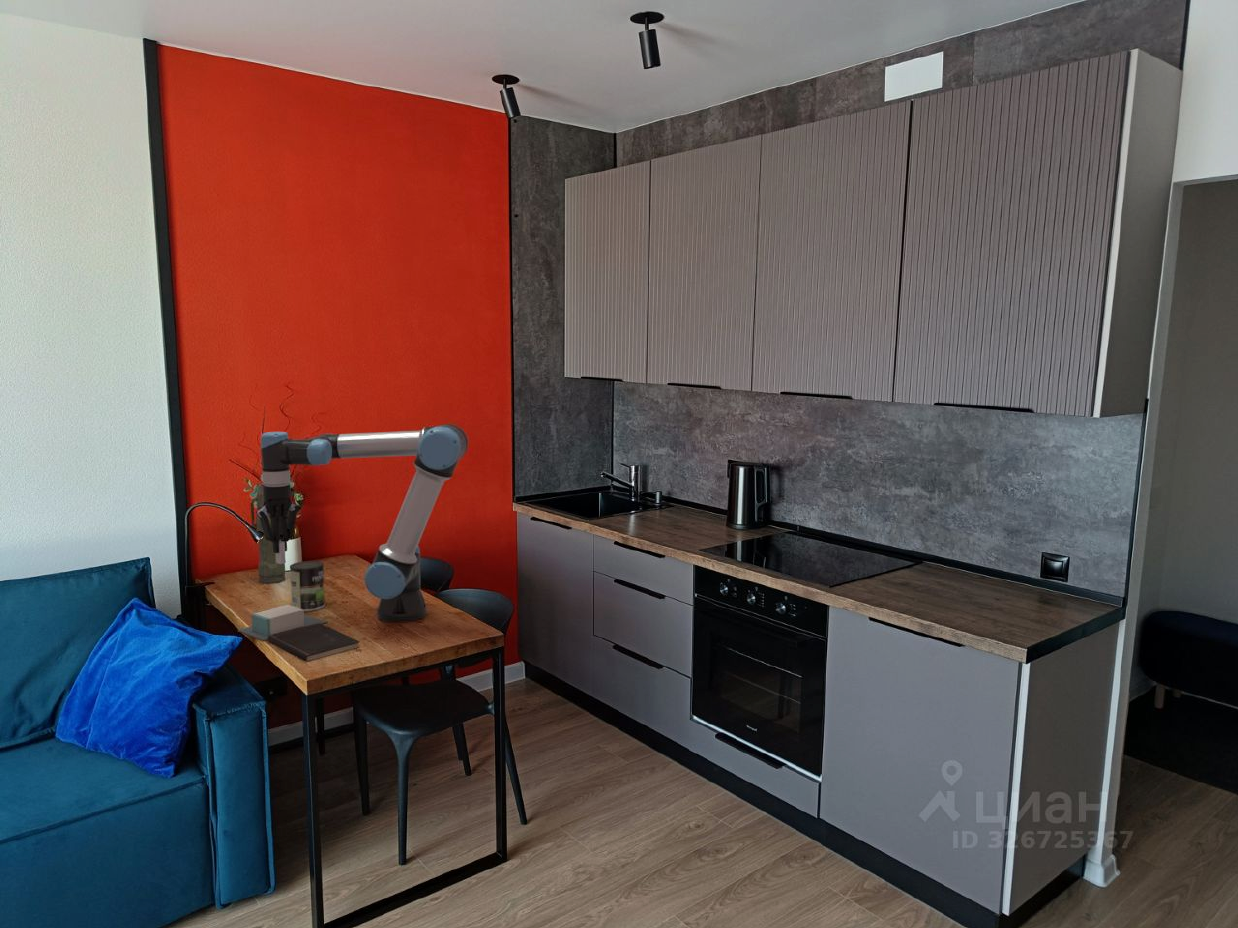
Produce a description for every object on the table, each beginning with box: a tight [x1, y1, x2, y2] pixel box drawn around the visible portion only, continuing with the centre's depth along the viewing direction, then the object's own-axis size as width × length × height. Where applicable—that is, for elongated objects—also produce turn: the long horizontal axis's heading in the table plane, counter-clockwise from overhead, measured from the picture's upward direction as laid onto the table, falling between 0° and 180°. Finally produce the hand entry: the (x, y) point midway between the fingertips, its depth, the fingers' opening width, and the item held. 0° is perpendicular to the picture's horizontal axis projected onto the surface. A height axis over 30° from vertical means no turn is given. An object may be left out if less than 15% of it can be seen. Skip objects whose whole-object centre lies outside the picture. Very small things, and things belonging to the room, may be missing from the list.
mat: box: [237, 613, 328, 642], centre depth 257 cm, size 14×21×1 cm, turn 143°
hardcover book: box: [267, 623, 361, 663], centre depth 242 cm, size 16×23×2 cm
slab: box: [251, 604, 305, 636], centre depth 254 cm, size 8×5×12 cm
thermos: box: [249, 483, 286, 585], centre depth 305 cm, size 9×12×35 cm
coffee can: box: [289, 560, 326, 612], centre depth 276 cm, size 10×10×14 cm
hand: (280, 562), depth 253 cm, fingers closed
